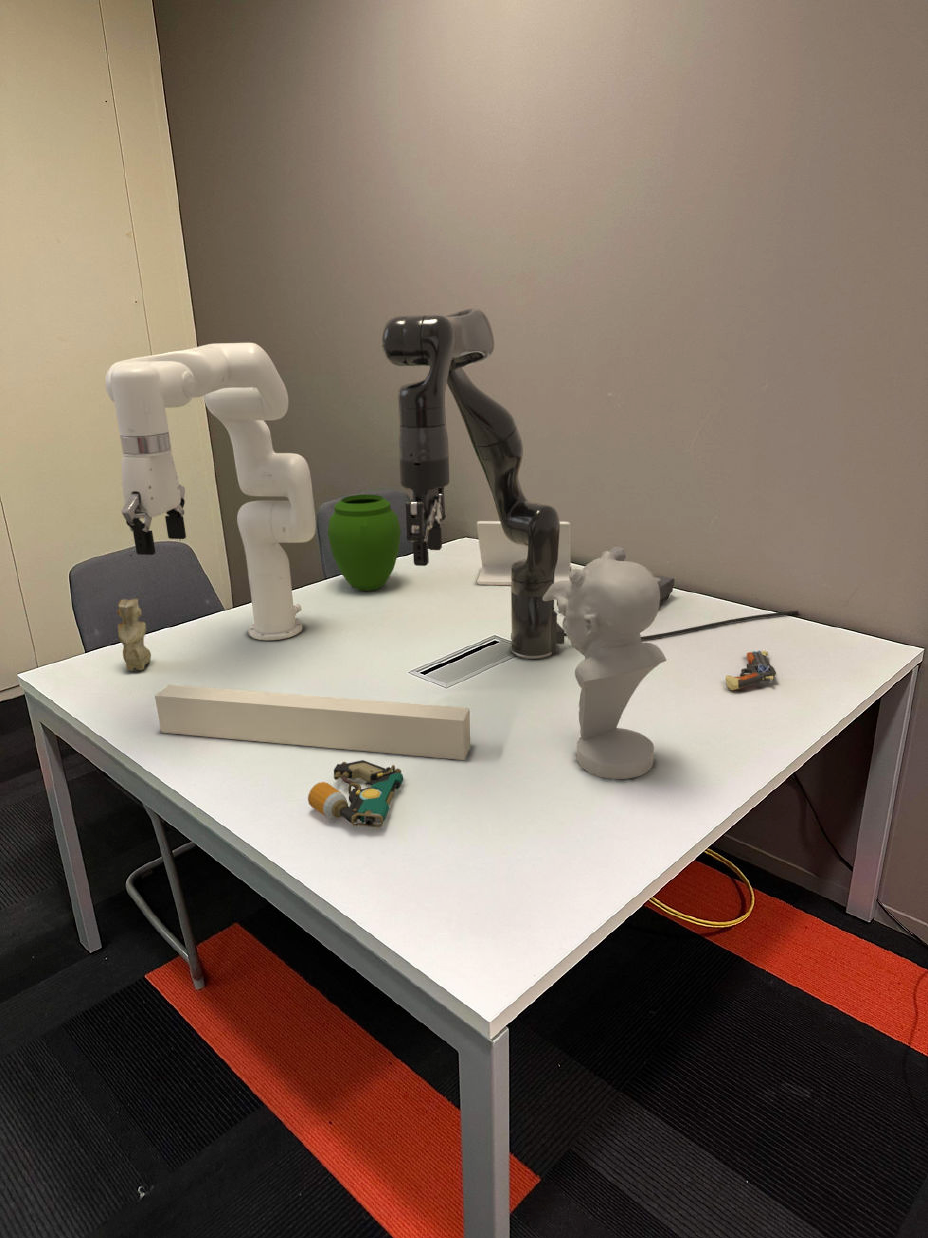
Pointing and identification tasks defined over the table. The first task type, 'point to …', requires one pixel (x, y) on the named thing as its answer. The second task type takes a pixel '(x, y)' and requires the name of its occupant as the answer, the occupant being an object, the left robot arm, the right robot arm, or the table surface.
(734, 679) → the toy gun
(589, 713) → the bust sculpture
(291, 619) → the left robot arm
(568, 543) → the tablet stand
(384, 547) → the vase
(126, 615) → the sculpture
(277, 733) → the bar
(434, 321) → the right robot arm
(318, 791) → the spray gun
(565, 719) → the table surface
